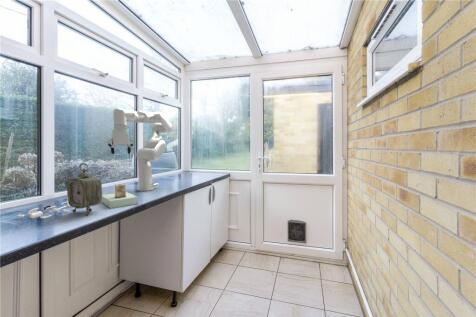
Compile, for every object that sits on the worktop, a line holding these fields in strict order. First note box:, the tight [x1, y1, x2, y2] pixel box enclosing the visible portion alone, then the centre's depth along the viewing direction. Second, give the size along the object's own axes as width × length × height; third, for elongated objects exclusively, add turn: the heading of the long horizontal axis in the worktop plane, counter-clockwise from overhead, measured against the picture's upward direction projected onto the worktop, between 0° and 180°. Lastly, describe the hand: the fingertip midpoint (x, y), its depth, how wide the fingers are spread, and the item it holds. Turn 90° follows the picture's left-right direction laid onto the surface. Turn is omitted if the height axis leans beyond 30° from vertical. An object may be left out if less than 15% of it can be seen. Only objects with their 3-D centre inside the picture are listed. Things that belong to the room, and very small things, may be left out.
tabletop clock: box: [66, 162, 103, 216], centre depth 114 cm, size 14×9×25 cm, turn 64°
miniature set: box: [16, 195, 78, 219], centre depth 119 cm, size 6×35×12 cm
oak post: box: [114, 183, 127, 199], centre depth 132 cm, size 4×4×11 cm
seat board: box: [100, 191, 138, 209], centre depth 134 cm, size 14×20×4 cm
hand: (121, 153), depth 151 cm, fingers open, 9 cm apart
